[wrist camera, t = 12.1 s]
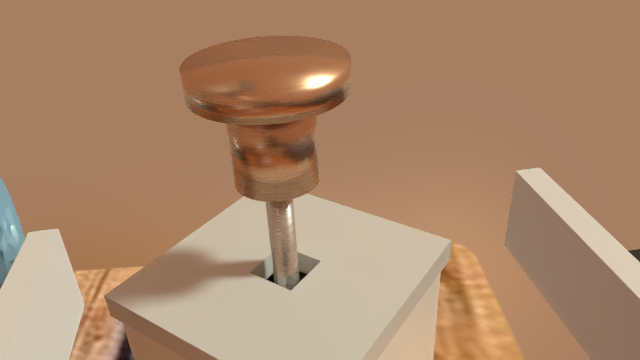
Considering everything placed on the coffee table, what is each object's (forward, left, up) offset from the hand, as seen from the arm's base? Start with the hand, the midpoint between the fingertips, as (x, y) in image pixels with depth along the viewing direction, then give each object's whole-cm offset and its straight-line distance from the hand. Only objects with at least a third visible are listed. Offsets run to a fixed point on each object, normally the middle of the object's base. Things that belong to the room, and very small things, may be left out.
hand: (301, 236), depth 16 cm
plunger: (-5, +5, -20) cm, 21 cm away
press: (-5, +7, -26) cm, 28 cm away
